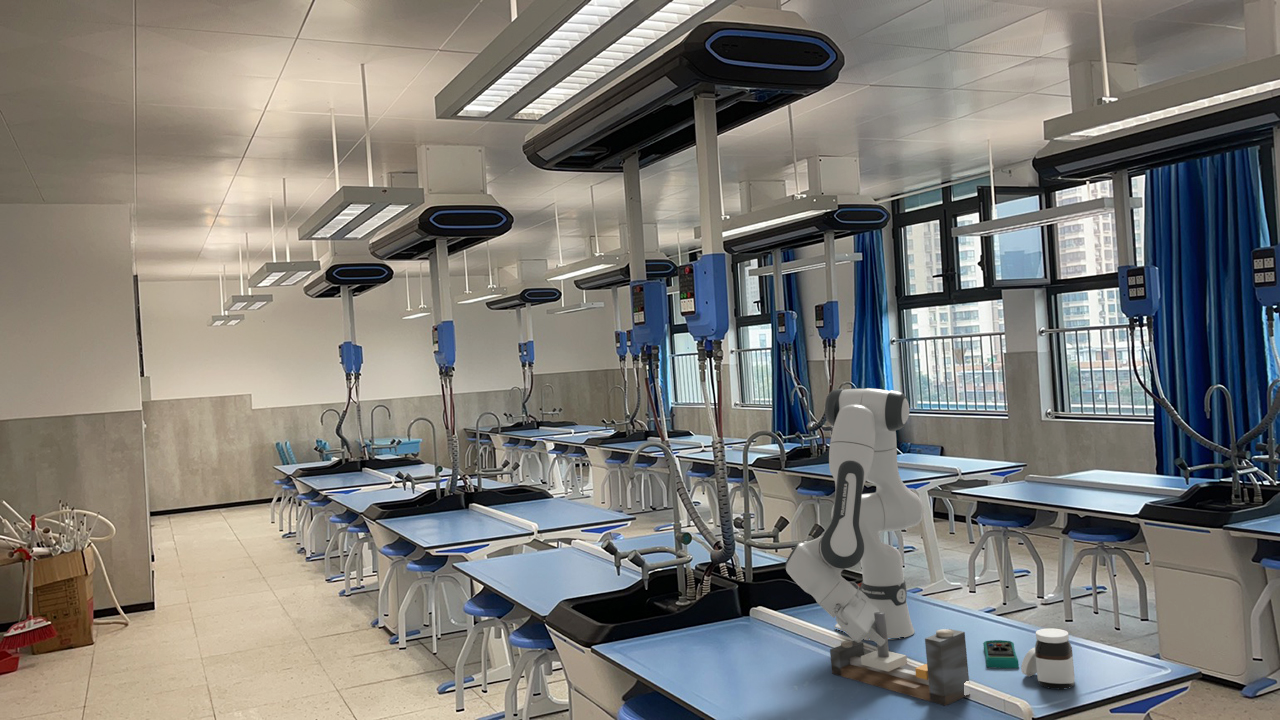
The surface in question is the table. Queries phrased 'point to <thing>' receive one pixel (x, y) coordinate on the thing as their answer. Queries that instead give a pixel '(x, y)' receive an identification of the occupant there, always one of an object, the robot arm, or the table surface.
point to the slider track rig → (942, 665)
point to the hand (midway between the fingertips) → (884, 641)
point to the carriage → (883, 650)
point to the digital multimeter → (1000, 654)
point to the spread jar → (1051, 659)
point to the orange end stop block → (922, 672)
